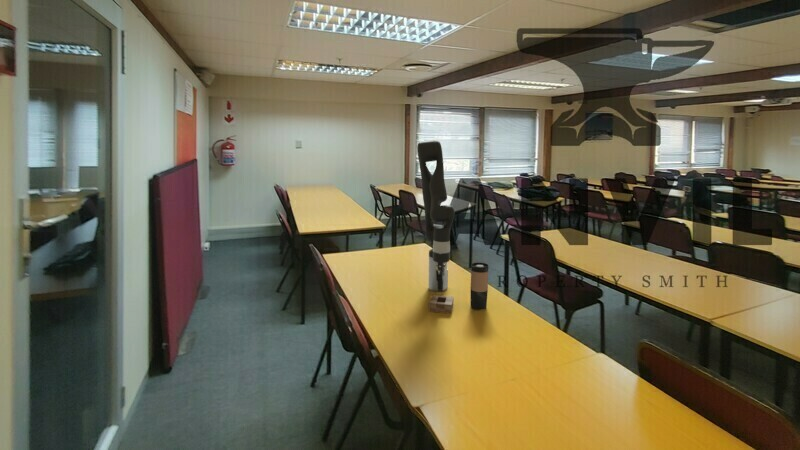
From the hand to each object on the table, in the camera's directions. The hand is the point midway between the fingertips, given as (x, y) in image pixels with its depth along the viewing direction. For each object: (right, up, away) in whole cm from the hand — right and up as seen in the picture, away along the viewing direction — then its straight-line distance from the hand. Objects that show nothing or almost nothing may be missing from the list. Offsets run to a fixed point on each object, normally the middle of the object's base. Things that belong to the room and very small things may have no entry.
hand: (440, 287), depth 184 cm
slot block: (+1, -10, +2) cm, 10 cm away
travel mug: (+18, -10, +3) cm, 20 cm away
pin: (0, -2, 0) cm, 2 cm away
